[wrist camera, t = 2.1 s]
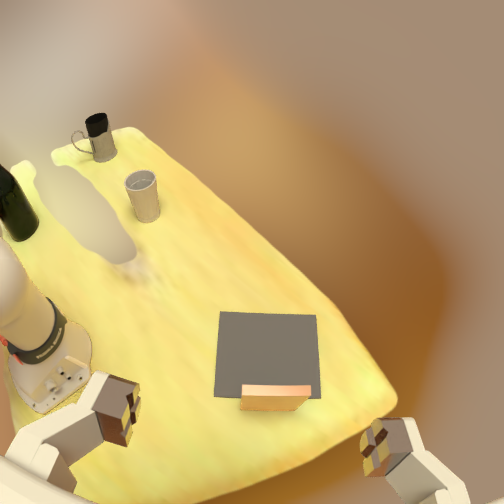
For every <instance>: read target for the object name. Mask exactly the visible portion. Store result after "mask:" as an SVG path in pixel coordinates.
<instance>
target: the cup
mask: <svg viewBox="0 0 504 504" xmlns="http://www.w3.org/2000/svg"><path fill="white" fill-rule="evenodd" d="M124 185H125V188H126V190H127V193H128V195H129V198H130V200H131V203H132V205H133V208H134V210H135V212H136V215H137V218H138V220H139V221H140V222H142V223H151V222H153V221H155V220H156V219H157V218H158V217H159V215H160V210H159V203H158V195H157V184H156V175H155V173H154V172H152V171H150V170H138V171H135V172H133V173H131V174H130V175H128V176H127V178H126V179H125V181H124Z"/></svg>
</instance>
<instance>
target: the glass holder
mask: <svg viewBox="0 0 504 504" xmlns="http://www.w3.org/2000/svg"><path fill="white" fill-rule="evenodd" d="M85 124H86V127H87V131H88V136H89V137H86V138H85V137H84V134H83V132H82V131H75V132H74V133H73V134H72V137H73V135H74V134H75V133H76V132H81V133H82V135H83V137H84V138H85V139H88V138H89V140H90V143H91V147H92V150H93V153H94V154H93V153H92V152H88V151H83V150H80V149H79V148H77V147H76V146H75V144H74V142H73V140H72V143H73V145H74V146H75V148H77V149H78V150H79V151H81V152H85V153H90V154H93V156H94V160H95V161H96V162H99V163H101V162H106V161H109V160H111V159H112V158H114V157H115V156H116V154H117V150H116V148H115V146H114V142H113V138H112V134H111V130H110V125H109V121H108V119H107V115H106V114H105V113H97V114H94V115H92V116H90V117H89V118H87V119H86V121H85ZM72 137H71V139H72Z"/></svg>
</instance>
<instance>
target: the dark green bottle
mask: <svg viewBox="0 0 504 504" xmlns="http://www.w3.org/2000/svg"><path fill="white" fill-rule="evenodd" d="M0 220H1V221H2V223H3V225H4V226H5V228H6V230H7V231H8V233H9V234H10V236H11V237H12V238H13V239H14V240H16V241H22V240H25V239H27V238H28V237H29V236H31V235H32V234H33V233H34V231H35V230H36V228H37V226H38V217H37V215H36V213H35V212H34V210H33V208H32V206H31V205H30V203H29V201H28V199H27V197H26V196H25V194H24V192H23V190H22V188H21V186H20V185H19V183H18V181H17V180H16V178H15V177H14V176H13V175H12V174H11V173H10V172H9V171H7V170H6V169H5V168H4V167H3V166H2V165H1V164H0Z"/></svg>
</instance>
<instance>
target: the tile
mask: <svg viewBox="0 0 504 504" xmlns="http://www.w3.org/2000/svg"><path fill="white" fill-rule="evenodd" d="M310 396H311V385H295V386H281V385H242V394H241V410H263V411H295V410H296V409H297V408H298V407H299V406H300V405H301V404H303V403H304V402H305V401H306V400H307V399H308V398H309V397H310Z"/></svg>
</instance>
